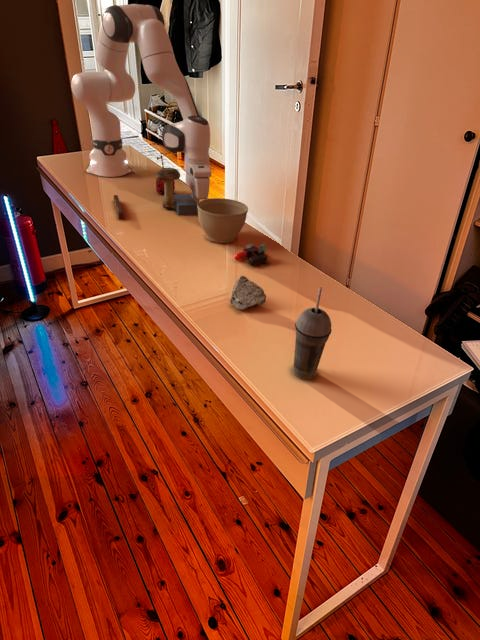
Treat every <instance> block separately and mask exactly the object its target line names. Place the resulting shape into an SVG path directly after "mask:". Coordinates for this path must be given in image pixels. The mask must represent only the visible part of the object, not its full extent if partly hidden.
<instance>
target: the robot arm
mask: <svg viewBox="0 0 480 640" xmlns="http://www.w3.org/2000/svg"><path fill="white" fill-rule="evenodd" d="M97 34H98V35H97V41H96V45H95V51H94V55H95V59H96V61H97V63H98V65H100V67H102V68H103V69H104V70H103V71H83V72H78V73H76V74H74V75H73V77H72V79H71V83H70V87H71V92H72V94H73V96H74V97H75V99H76V100H77V101H78V102H80V103H81V104H82V105H83V106H84V107H85V109H86V110H87V112H88V113H89V116H90V119H91V127H92V135H93V136H92V147H93V148H92V150H91V151H90V153H89V154H88V159H89V160H90V161H89V165H88V166H87V169H86V173H87V174H92V175H95V176H98V177H107V178H115V177H116V178H117V177H121V176H122V177H123V176H124V175H127V174H131V173H132V172H133V171H132V169H131V168H130V167H128V159H127V158H128V157H127V152H126V151H125V150H124V149H123V138H122V133H121V131H122V130H121V120H120V118H119V117H118V115H116V113H114V112H112V111H109V109H108V106H107V104H108V103H123V102H127V101H130V100H133V98H134V96H135V94H136V83H135V80H134V79H133V77H132V76H131V75H130V73H128V71H127V67H126V65H127V57H128V52H129V50H130V49H129V48H130V43H131V44H132V43H133V44H136V46H137V47H138V49H139V54H140V58H141V64H142V66H143V70H144V73H145V75H146V77H147V79H148V80H149V82H151V83H152V84H153V85H155V86H156V87H159V88H161V89H163V90H165V91H167V92H168V93H169V94H171V95H172V96H173V97H174V98H175V101H176V103H177V106H178V109H179V112H180V115H181V118H182V120H180V121H178V122H174V123H170V124H167V125H165V127H164V128H163V130H162V133H161V139H162V143H163V146H164V147H165V149H166V150H167V151H169V152H170V153H184V154H183V155H184V169H183V170H184V171H185V184H186V186H188V188H189V189H190V190H191V196H192V197H193V199H194V200H195V202H196V203H197V204H198V203H199V202H200V201H201V200H205V199H209V193H210V184H211V183H210V182H211V181H210V179H211V177H212V169H211V166H210V165H211V164H210V159H211V158H210V153H209V152H210V147H211V127H210V123H209V121H208V120H207V119H206V118H205V117H203V116H200V114H199V111H198V108H197V105H196V103H195V99H194V96H193V94H192V91H191V88H190V85H189V83H188V81H187V78H186V77H185V75H184V74H183V73H182V71H181V69H180V67H179V65H178V63H177V60H176V57H175V54H174V50H173V46H172V41H171V40H170V36H169V34H168V31H167V29H166V25H165V19H164V15H163V13H162V11H161V10H160V8H159V7H156V6H154V5H151V4H138V3H130V4H122V5H118V4H113V5H111V6H108V7H106V8H105V9H104V10H103V13H102V16H101V23H100V26H99V30H98V33H97Z"/></svg>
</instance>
